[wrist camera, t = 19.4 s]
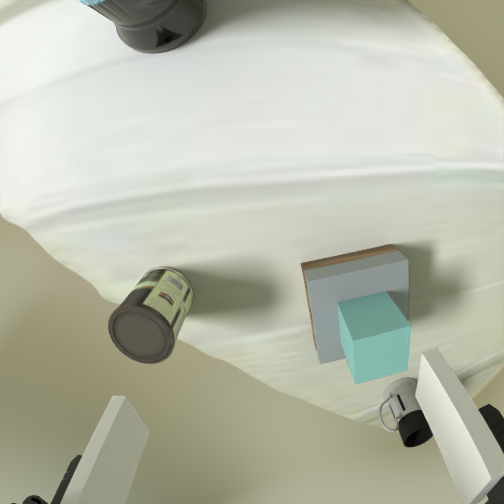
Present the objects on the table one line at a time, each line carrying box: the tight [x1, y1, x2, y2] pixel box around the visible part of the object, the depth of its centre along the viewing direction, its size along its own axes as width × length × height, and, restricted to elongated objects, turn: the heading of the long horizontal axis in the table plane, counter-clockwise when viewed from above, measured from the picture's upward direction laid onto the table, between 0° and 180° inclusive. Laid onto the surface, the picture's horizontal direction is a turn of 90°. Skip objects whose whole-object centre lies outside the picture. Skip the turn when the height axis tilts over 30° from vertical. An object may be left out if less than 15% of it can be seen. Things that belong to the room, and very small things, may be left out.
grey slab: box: [304, 251, 409, 364], centre depth 47 cm, size 16×16×4 cm
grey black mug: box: [378, 377, 433, 447], centre depth 53 cm, size 9×14×15 cm, turn 70°
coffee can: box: [108, 267, 193, 364], centre depth 47 cm, size 10×10×14 cm
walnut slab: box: [301, 244, 397, 350], centre depth 51 cm, size 16×16×4 cm
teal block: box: [337, 291, 411, 384], centre depth 41 cm, size 8×8×10 cm
